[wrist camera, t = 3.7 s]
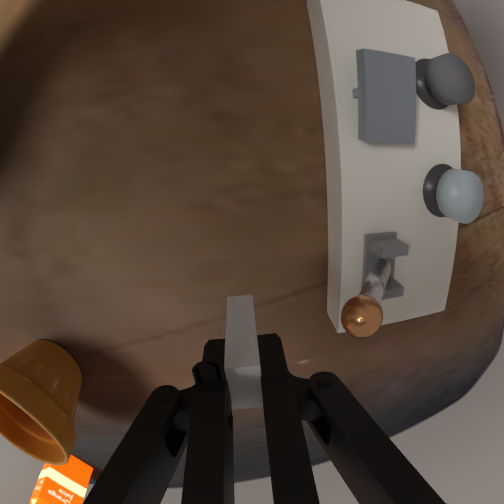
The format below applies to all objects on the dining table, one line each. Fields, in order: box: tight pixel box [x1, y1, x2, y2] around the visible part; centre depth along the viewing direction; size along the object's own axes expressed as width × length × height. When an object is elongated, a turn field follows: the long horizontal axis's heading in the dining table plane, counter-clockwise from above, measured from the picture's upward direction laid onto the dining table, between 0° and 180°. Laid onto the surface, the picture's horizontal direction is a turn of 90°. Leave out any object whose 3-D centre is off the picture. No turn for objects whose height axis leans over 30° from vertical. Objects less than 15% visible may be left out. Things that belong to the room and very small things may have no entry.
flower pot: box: [0, 340, 82, 466], centre depth 25 cm, size 14×14×13 cm
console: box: [306, 0, 461, 333], centre depth 21 cm, size 13×32×7 cm, turn 5°
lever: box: [341, 258, 391, 338], centre depth 19 cm, size 3×3×10 cm
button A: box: [424, 53, 475, 105], centre depth 16 cm, size 4×4×2 cm
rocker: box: [356, 48, 416, 145], centre depth 17 cm, size 4×7×1 cm, turn 5°
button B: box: [436, 169, 484, 224], centre depth 19 cm, size 4×4×2 cm
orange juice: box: [30, 455, 93, 504], centre depth 31 cm, size 8×9×20 cm
